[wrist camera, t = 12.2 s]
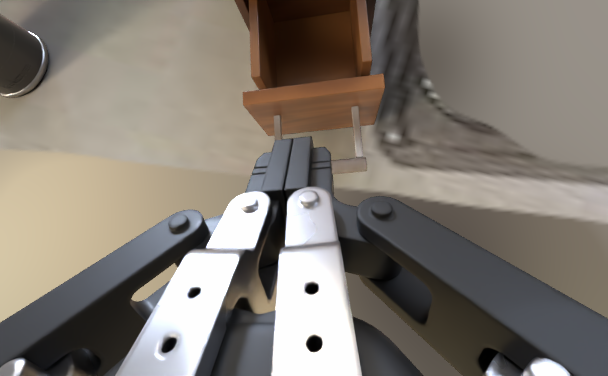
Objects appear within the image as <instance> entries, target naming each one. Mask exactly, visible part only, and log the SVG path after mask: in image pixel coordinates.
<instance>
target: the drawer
mask: <svg viewBox="0 0 608 376" xmlns="http://www.w3.org/2000/svg"><path fill="white" fill-rule="evenodd" d="M249 23H250V52H251V77H252V79H253V81H254V82H255V84H256V86H257V87H258V89H259V90H254V91H247V92H243V105H244V107H245V108H246V109H247V110H248V112H249V113H250V114H251V115H252V116H253V118H254V119H255V120H256V121H257V123H258V124H259V125H260V126H261V127H262V129H263V130H264V131H265V132H266V134H267V135H268V136H273V135H275V140H282V134H291V133H300V132H310V131H319V130H328V129H337V128H347V127H353V133H354V144H355V155H356V158H351V159H340V160H331V164H332V174H339V173H351V172H363V171H367V162H366V157H363V149H362V139H361V128H360V126H365V125H374V123H375V120H376V116H377V113H378V109H379V106H380V103H381V99H382V96H383V93H384V89H385V83H384V74H377V75H370V71H371V65H372V53H371V43H370V34H369V25H368V15H367V6H366V0H249Z"/></svg>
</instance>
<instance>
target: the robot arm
mask: <svg viewBox="0 0 608 376" xmlns="http://www.w3.org/2000/svg"><path fill="white" fill-rule="evenodd" d="M47 65H48V50H47V47H46V45H45V43H44V42H43V41H42V39H40V38H39V37H38V36H36V35H34V34H33V33H31V32H28V31H27V30H25V29H23V28H22V27H20V26H19V25H17V24H15V23H14V22H12V21H11V20H9V19H7V18H6V17H4V16H3V15H1V14H0V95H1V96H4V97H9V98H14V97H19V96H22V95H24V94H26V93H28V92H29V91H31V90H32V89H33V88H34V87H35V86H36V85H37V84H38V83H39V82H40V80H41V79H42V77H43V76H44V74H45V71H46V69H47ZM173 263H175V264H176V265H177V267H178V269H177V271H176V273H175V274H174V276H173V278H172V279H171V280H170V281H169V282H168V283H166V284H165V285H164V286H162V287H161V288H160V289H159V290H157V291H156V292H155V293H154V294H152V295H151V296H149V297H148V298H147V299H145V300H143V301H139V302H136V301H133V300H131V298H132V296H133V294H134V293H135V292H136V291H137V290H138V289H140V288H141V287H142V286H144V285H145V284H146V283H148V282H149V281H150V280H152V279H153V278H155V277H156V276H157V275H159V274H160V273H161V272H163V271H164V270H165V269H167V268H168V267H169V266H171V265H172V264H173ZM345 272H348V273H352V274H356V275H359V277H360V279H361V281H362V282H363V283H364V284H365V285H366V286H367V287H368V288H369V289H370V290H371V291H372V292H373V293H374V294H375V295H376V296H378V297H379V298H380V299H381V300H382V301H383V302H384V303H385V304H386V305H387V306H388V307H389V308H390V309H391V310H393V311H394V312H395V313H396V314H397V315H398V316H399V317H400V318H401V319H402V320H403V321H404V322H405V323H407V324H408V325H409V326H410V327H411V328H412V329H413V330H414V331H415V332H416V333H417V334H418V335H419V336H421V337H422V338H423V339H424V340H425V341H426V342H427V343H428V344H429V345H430V346H431V347H432V348H434V349H435V350H436V351H437V352H438V353H439V354H440V355H441V356H442V357H443V358H444V359H445V360H446V361H447V362H449V363H450V364H451V365H452V366H453V367H454V368H455V369H456V370H457V371H458V372H459V373H460V374H462V375H463V376H608V319H607V318H605V317H604V316H602V315H600V314H599V313H597V312H595V311H593V310H591V309H590V308H588V307H586V306H584V305H583V304H581V303H579V302H577V301H575V300H574V299H572V298H570V297H568V296H567V295H565V294H563V293H561V292H560V291H558V290H556V289H554V288H552V287H550V286H549V285H547V284H545V283H544V282H542V281H540V280H538V279H537V278H535V277H533V276H531V275H529V274H528V273H526V272H524V271H522V270H520V269H519V268H517V267H515V266H513V265H512V264H510V263H508V262H506V261H505V260H503V259H501V258H499V257H498V256H496V255H494V254H492V253H490V252H488V251H487V250H485V249H483V248H482V247H480V246H478V245H476V244H474V243H472V242H471V241H469V240H467V239H465V238H464V237H462V236H460V235H459V234H457V233H455V232H453V231H451V230H450V229H448V228H446V227H444V226H443V225H441V224H439V223H437V222H435V221H434V220H432V219H430V218H428V217H427V216H425V215H423V214H421V213H419V212H418V211H416V210H414V209H412V208H411V207H409V206H407V205H405V204H404V203H402V202H400V201H398V200H396V199H393V198H391V197H385V196H376V197H371V198H368V199H366V200H364V201H362V202H361V203H360V204H359V205H358V207H356V206H350V205H346V204H343V203H341V202H339V201H338V200H337V199H336V198H335V197H334V187H333V175H332V164H331V154H330V152H329V151H328V150H327V149H326V148H325V147H319V148H313V141H312V137H301V138H294V139H293V138H292V139H282V140H275V142H274V146H273V149H272V152H269V153H264V154H263V155H262V156H261V157H260V158H258V159H257V161H256V164H255V167H254V169H253V172H252V175H251V178H250V180H249V183H248V186H247V189H246V191H245V193H244V194H241V195H239V196H238V197H236V198H235V199H233V200H232V201H231V203H230V204H229V206H228V207H227V209H226V211H225V213H224V214H222V215H219V216H216V217H212V218H209V219H205V220H204V218H203V216H202V214H201V213H200V212H199V211H196V210H184V211H180V212H177V213H175V214H173V215H171V216H169V217H168V218H166V219H165V220H163V221H161V222H160V223H158V224H157V225H155V226H153V227H152V228H150V229H149V230H147V231H145V232H144V233H142V234H141V235H139V236H137V237H136V238H134V239H133V240H131V241H130V242H128V243H126V244H125V245H123V246H122V247H120V248H118V249H117V250H115V251H114V252H112V253H110V254H109V255H107V256H106V257H104V258H102V259H101V260H99V261H98V262H96V263H95V264H93V265H91V266H90V267H88V268H87V269H85V270H83V271H82V272H80V273H79V274H77V275H75V276H74V277H72V278H71V279H69V280H68V281H66V282H64V283H63V284H61V285H60V286H58V287H56V288H55V289H53V290H52V291H50V292H48V293H47V294H45V295H44V296H42V297H40V298H39V299H38V300H36V301H34V302H32V303H31V304H29V305H28V306H26V307H25V308H23V309H21V310H20V311H18V312H17V313H15V314H13V315H12V316H10V317H9V318H7V319H5V320H4V321H2V322H1V323H0V376H423V375H422V373H421V372H420V371H419V370H418V369H417V368H416V367H415V366H414V365H413V364H412V362H410V360H409V359H408V358H407V357H406V356H405V355H404V354H403V353H402V352H401V351H400V349H399V348H398V347H397V346H396V345H395V344H394V343H393V342H392V341H391V340H390V339H389V338H388V337H387V336H385V335H384V334H383V333H382V332H381V331H379V330H378V329H377V328H375V327H374V326H372V325H370V324H368V323H367V322H365V321H363V320H360V319H357V318H355V317H352V313H351V306H350V300H349V294H348V288H347V282H346V276H345ZM275 306H276V310H275Z"/></svg>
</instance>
